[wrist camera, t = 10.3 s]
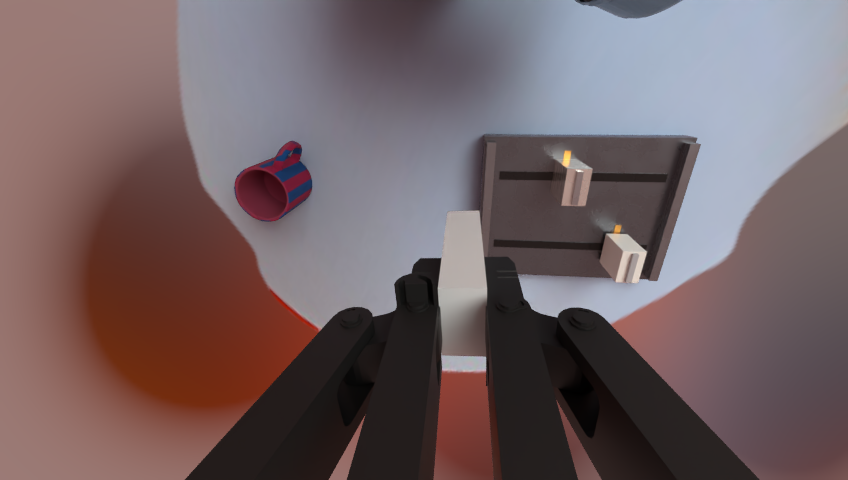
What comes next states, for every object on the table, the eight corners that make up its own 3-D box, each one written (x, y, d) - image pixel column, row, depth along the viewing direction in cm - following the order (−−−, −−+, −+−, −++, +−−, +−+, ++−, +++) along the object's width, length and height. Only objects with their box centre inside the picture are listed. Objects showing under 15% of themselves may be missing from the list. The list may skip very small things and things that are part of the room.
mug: (256, 182, 47) (224, 197, 41) (291, 124, 43) (263, 130, 37) (296, 213, 48) (272, 232, 42) (334, 159, 45) (314, 170, 38)
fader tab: (606, 233, 43) (624, 252, 38) (627, 234, 42) (648, 253, 38) (599, 261, 44) (616, 283, 39) (619, 262, 44) (639, 284, 39)
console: (484, 134, 41) (488, 144, 35) (686, 135, 39) (732, 145, 33) (475, 265, 49) (478, 293, 42) (645, 271, 47) (676, 303, 40)
